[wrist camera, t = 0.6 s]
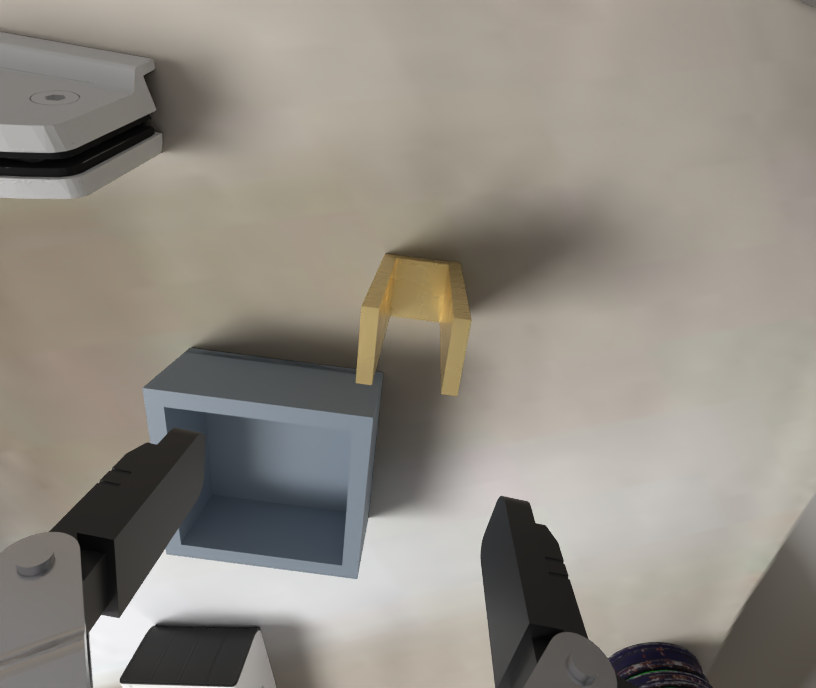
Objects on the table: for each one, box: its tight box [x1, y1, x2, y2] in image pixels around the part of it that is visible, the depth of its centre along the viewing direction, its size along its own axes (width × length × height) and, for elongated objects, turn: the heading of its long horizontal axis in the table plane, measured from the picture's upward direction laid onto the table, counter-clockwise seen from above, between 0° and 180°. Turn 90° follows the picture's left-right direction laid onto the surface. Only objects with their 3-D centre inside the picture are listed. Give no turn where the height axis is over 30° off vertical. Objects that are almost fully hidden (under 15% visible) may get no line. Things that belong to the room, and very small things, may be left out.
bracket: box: [356, 254, 471, 396], centre depth 26 cm, size 5×4×10 cm
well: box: [143, 348, 383, 579], centre depth 34 cm, size 14×14×6 cm
